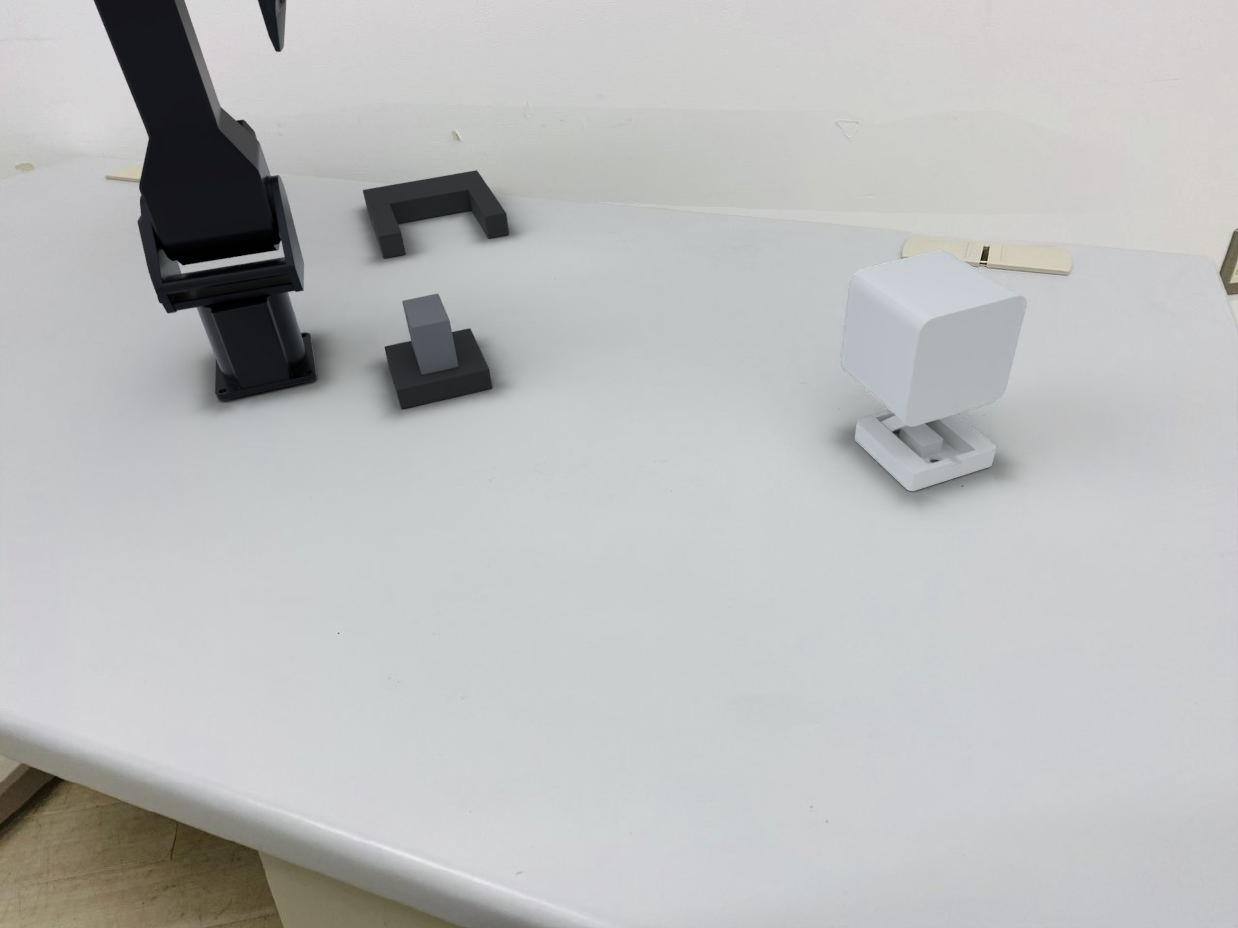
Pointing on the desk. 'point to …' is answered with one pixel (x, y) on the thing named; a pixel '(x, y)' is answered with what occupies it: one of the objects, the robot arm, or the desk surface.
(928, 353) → the security camera
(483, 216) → the black flat u-shaped piece
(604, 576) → the desk surface
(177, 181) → the robot arm
